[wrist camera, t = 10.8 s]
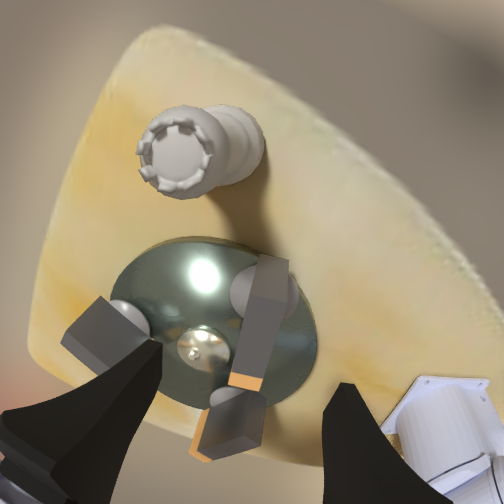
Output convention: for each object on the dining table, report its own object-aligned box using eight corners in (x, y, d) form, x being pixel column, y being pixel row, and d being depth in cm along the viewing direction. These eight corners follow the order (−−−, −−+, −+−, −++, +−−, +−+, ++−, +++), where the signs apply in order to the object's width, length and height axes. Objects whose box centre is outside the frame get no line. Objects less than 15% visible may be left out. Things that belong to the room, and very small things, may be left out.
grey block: (238, 246, 17) (220, 287, 12) (309, 262, 17) (314, 309, 12) (223, 327, 19) (205, 378, 15) (284, 341, 19) (280, 395, 15)
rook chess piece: (243, 196, 17) (206, 248, 10) (175, 163, 17) (96, 190, 9) (279, 126, 15) (270, 119, 8) (207, 93, 15) (141, 67, 8)
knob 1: (90, 315, 20) (56, 351, 16) (109, 283, 19) (70, 320, 15) (147, 361, 21) (122, 405, 17) (172, 336, 20) (147, 383, 16)
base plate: (346, 267, 18) (353, 286, 16) (283, 416, 24) (282, 437, 22) (115, 214, 18) (96, 225, 16) (122, 373, 24) (111, 390, 22)
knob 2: (241, 375, 21) (230, 426, 16) (277, 403, 21) (272, 453, 17) (192, 401, 22) (176, 445, 18) (226, 425, 23) (216, 469, 19)
